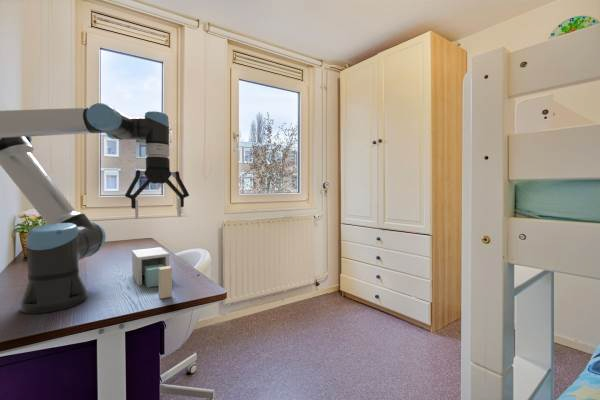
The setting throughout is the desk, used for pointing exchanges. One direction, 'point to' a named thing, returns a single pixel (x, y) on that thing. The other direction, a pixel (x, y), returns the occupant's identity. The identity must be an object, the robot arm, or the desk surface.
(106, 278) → the desk surface
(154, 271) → the tethered block
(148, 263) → the white open box
